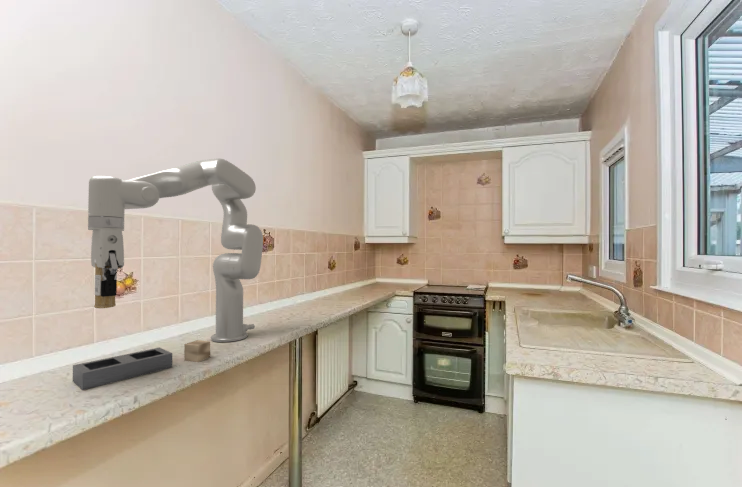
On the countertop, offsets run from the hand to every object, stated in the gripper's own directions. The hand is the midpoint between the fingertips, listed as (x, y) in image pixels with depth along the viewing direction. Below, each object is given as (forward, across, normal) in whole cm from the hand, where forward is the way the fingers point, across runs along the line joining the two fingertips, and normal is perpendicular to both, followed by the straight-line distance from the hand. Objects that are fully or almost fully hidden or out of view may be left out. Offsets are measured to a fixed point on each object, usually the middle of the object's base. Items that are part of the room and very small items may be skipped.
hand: (105, 294), depth 90 cm
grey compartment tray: (+22, 0, -5) cm, 22 cm away
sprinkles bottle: (+4, 0, 0) cm, 4 cm away
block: (+22, -3, -23) cm, 31 cm away
